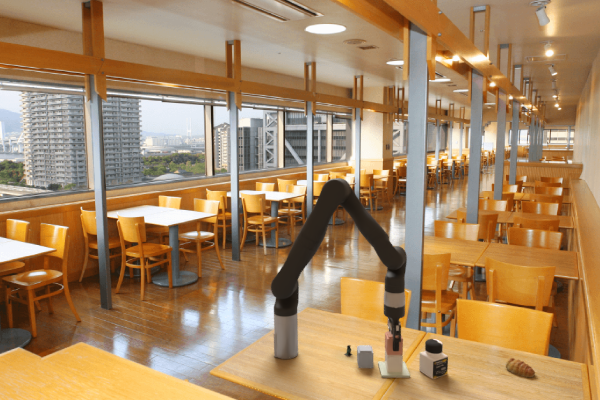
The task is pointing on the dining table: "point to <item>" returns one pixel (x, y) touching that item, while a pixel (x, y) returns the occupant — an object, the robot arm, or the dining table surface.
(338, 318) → the dining table surface
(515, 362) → the pastry
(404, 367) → the tower base
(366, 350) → the grey block
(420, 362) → the medicine bottle
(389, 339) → the brick terracotta
